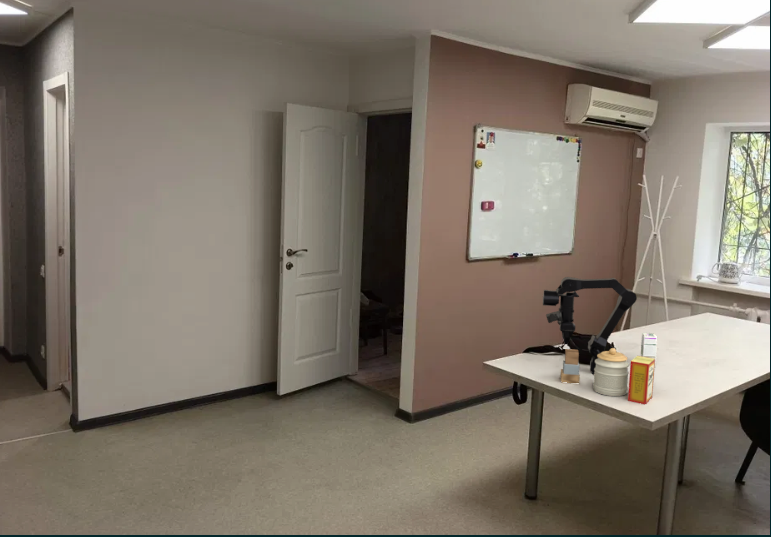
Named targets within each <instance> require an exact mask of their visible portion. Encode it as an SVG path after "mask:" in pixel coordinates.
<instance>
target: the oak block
mask: <svg viewBox="0 0 771 537" xmlns="http://www.w3.org/2000/svg"><path fill="white" fill-rule="evenodd" d="M560 377H561V378H560V381H562V382H567V383H566V384H571V383H579V384H580V374H579V375H572V374H564V372H563V368H561V369H560ZM562 382H561V383H562Z"/></svg>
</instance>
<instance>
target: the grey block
mask: <svg viewBox="0 0 771 537" xmlns="http://www.w3.org/2000/svg"><path fill="white" fill-rule="evenodd" d="M562 369H563V372H564V374H572V375H580V363H579V362H578V365H572V364H565V359H564V360H563V361H562Z"/></svg>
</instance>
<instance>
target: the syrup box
mask: <svg viewBox="0 0 771 537" xmlns="http://www.w3.org/2000/svg"><path fill="white" fill-rule="evenodd" d="M640 343H641V345H640V356H643V357H648V358H654V359H655V368H656V365H657V363H656V362H657V349H658V348H657V347H658V336H657V335H656V334H655V333H650V332H646V333H645V332H643V333H641V342H640Z"/></svg>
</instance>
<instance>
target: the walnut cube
mask: <svg viewBox="0 0 771 537" xmlns="http://www.w3.org/2000/svg"><path fill="white" fill-rule="evenodd" d="M579 354H580V353H579V350H578V349H571V348H570V349H568V348H565V351H564V361H565V364H572V365H578V363H579V356H580V355H579Z"/></svg>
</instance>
